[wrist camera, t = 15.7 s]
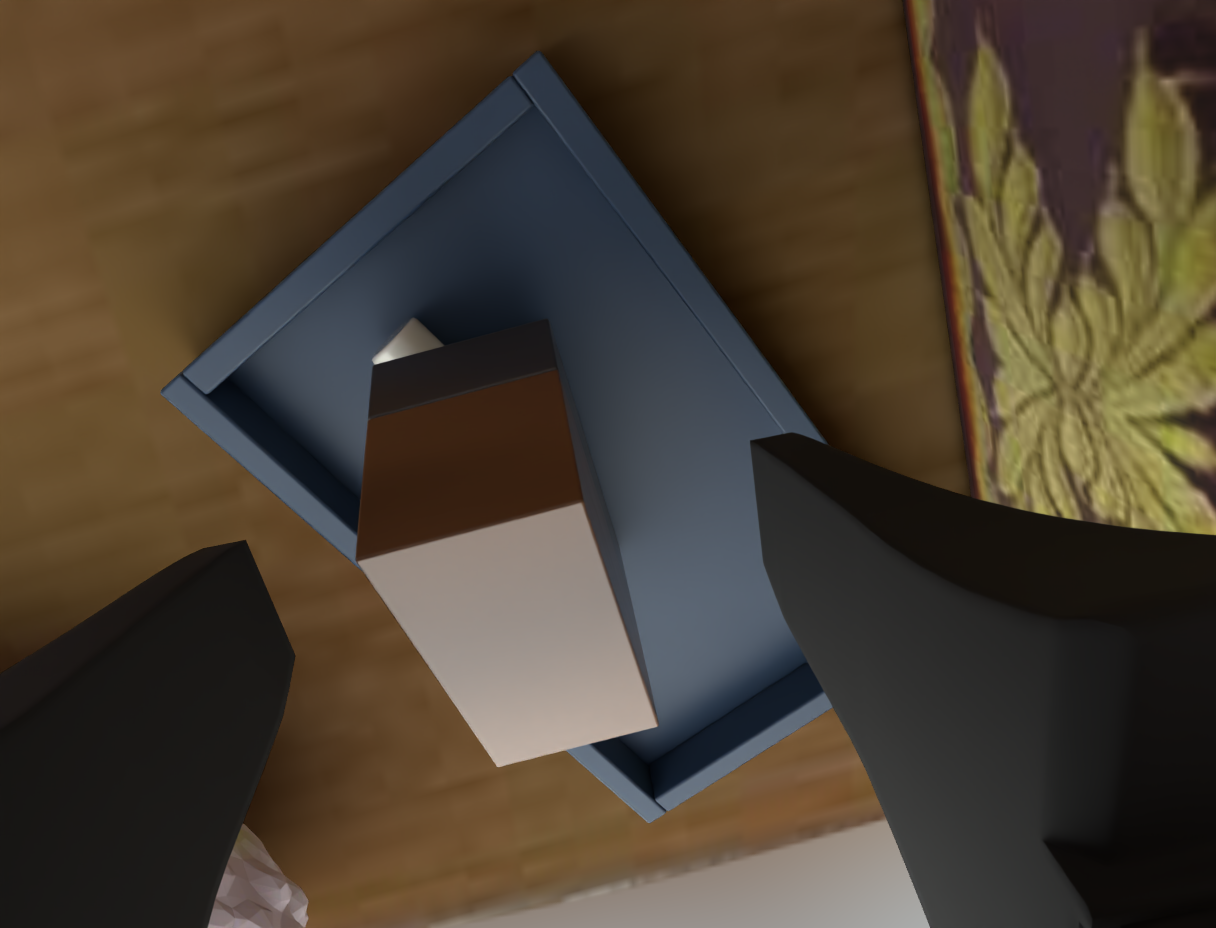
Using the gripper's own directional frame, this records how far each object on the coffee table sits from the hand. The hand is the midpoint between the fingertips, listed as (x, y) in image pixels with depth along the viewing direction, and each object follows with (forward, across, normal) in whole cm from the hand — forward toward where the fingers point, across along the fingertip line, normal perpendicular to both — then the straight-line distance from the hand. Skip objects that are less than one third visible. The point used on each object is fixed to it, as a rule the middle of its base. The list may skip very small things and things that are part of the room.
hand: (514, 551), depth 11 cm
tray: (+6, -1, +2) cm, 7 cm away
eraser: (+5, 0, +1) cm, 5 cm away
